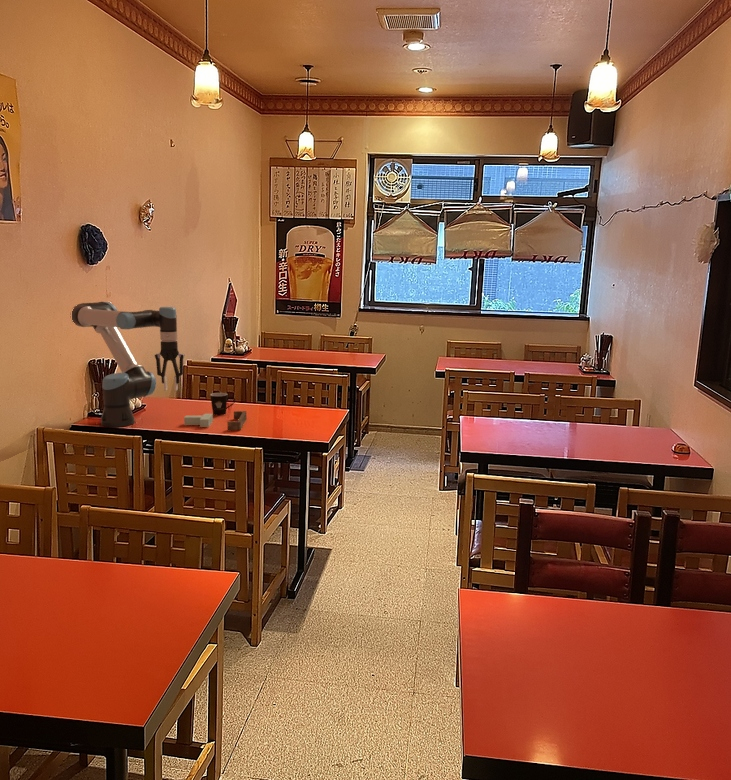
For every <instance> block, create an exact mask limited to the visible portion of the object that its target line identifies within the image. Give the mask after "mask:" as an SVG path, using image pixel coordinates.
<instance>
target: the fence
mask: <svg viewBox="0 0 731 780" xmlns="http://www.w3.org/2000/svg"><path fill="white" fill-rule="evenodd" d="M234 419H239V420H234ZM247 419H248V418H247V410H233V421H231V420H230V421H227V424H226V425H227V431H228V430H241V431H242V429H243V427H244V425H245V423H246V421H247ZM243 424H244V425H243ZM242 426H243V427H242ZM241 428H242V429H241Z"/></svg>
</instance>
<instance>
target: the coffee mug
mask: <svg viewBox="0 0 731 780" xmlns="http://www.w3.org/2000/svg"><path fill="white" fill-rule="evenodd" d="M209 396H210V397H209V398H210V401H211V409H212V414H215V416H223V415H224V414H225V415H226V414H227V410H228V408H230V407H232V406H233V405H235V402H236V398H235V397H234V396H228V392H227V393H226V392H214V393H210V395H209ZM229 399H233V402H232V403H231V404H230V405H228V400H229Z"/></svg>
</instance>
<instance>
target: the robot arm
mask: <svg viewBox="0 0 731 780" xmlns="http://www.w3.org/2000/svg"><path fill="white" fill-rule="evenodd" d="M76 305H77V306H76ZM76 305H74V306H73V308H74V309H73V308H72V309H73V311H72V320H73V321H72V320H71V321H72V323H73V322H74V323H75V324H74V323H73V324H74V325H75V326H78V327H81V328H89V327H91V328H93V329H94V331H95V332H96V334H100V335H101V337H102V339H103V340H104V343H105V345H106V346H107V348H108V350H109V352H110V353H111V355H112V357H113V359H114V361H115V362H116V364H117V366H118V367H119V369H120V371H121V372H117V373H111V374H108V375H105V376H104V377H103V379H102V386H101V388H102V398H103V399H102V400H103V410H102V414H101V418H100V425H101V426H102V427H105V428H106V427H107V428H120V427H121V428H122V427H128V426H131V425H134V424H135V420H136V419H135V416H134V414H133V411H132V409H131V403H130V402H131V401H130V400H134V399H138V398H145V397H147V396H151V395H152V394H153V393H154V392H155V390H156V388H157V387H156V386H157V380H156V377H155V375H154V374H153V372H152V371H147V370H146V369H145V367H144V366H143V365H142V364H139V363H138V361H137V359H136V358H135V356H134V355H133V352H132V351H131V349H130V347H129V346H128V344H127V341H126V340H125V337H124V336H123V334H122V333H121V331H120V330H119V329H121V330H131V329H133V330H134V329H142V328H150V327H151V328H153V327H155V328H159V336H160V340H161V341H160V351H159V352H158V353H156V354H154V358H155V361H156V363H155V364H156V374H157V376H160V377H161V384H163V389H164V391H168V376H167V375H166V372H167V366H168V361H171V363H172V366H173V371H174V374H175V376H174V377H173V379H174V391H175V392H176V391H178V385H179V384H180V377H181V376H183V375H184V358H185V354H184V353H180V351H179V349H178V348H179V347H178V323H177V321H178V319H177V311H176V310H177V309H176V307H173V306H160V307H159V309H158V310H155V309H154V310H153V309H145V310H140V311H122V310H121V311H120V310H118V309H117V307H116V306H115V305H114V304H113V303H112V302H109V301H98V302H82V303H78V304H76ZM161 357H162V358H163V361H162V363H163V364H162V367H161ZM177 358H179V367H178V364H177ZM161 369H162V370H161Z"/></svg>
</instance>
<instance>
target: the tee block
mask: <svg viewBox="0 0 731 780" xmlns="http://www.w3.org/2000/svg"><path fill="white" fill-rule="evenodd" d="M183 421H184V422H183V423H184V424H183V425H200V426H199V428H200V427H209V426H210V427H211V425H212V424H213V422H214V415H213V413H203V415H185V416H184V418H183ZM212 421H213V422H212ZM211 423H212V424H211ZM210 424H211V425H210ZM210 427H209V428H210Z"/></svg>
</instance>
